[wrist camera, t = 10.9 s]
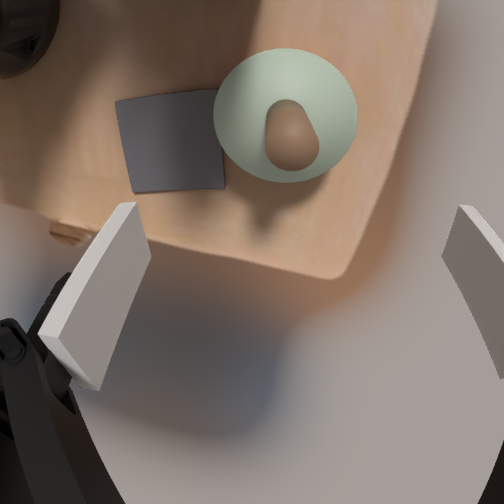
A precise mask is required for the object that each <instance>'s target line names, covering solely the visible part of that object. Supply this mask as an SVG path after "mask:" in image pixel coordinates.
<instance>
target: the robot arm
mask: <svg viewBox="0 0 504 504" xmlns="http://www.w3.org/2000/svg"><path fill="white" fill-rule="evenodd" d="M58 16H59V0H0V79H5V78H10V77H13V76H16V75H19V74H21V73H23V72H25V71H27V70H29V69H30V68H31V67H32V66H34V65H35V64H36V63H37V62H38V61H39V59H40V58H41V57H42V56H43V54H44V53H45V51H46V50H47V48H48V46H49V44H50V42H51V40H52V38H53V35H54V33H55V29H56V26H57V22H58ZM442 258H443V260H444V262H445V264H446V265H447V267H448V269H449V271H450V272H451V274H452V276H453V278H454V279H455V282H456V283H457V285H458V287H459V289H460V291H461V293H462V295H463V297H464V299H465V301H466V303H467V305H468V307H469V309H470V311H471V313H472V315H473V317H474V319H475V321H476V323H477V325H478V328H479V330H480V332H481V334H482V336H483V339H484V341H485V343H486V346H487V348H488V350H489V353H490V355H491V358H492V360H493V363H494V365H495V367H496V370H497V373H498V375H499V378H500V379H502V378H504V244H503V243H502V241H501V240H500V239H499V237H498V236H497V235H496V234H495V232H494V231H493V230H492V229H491V227H489V225H488V224H487V223H486V221H485V220H484V219H483V218H482V217H481V216H480V214H479V213H478V212H477V211H476V210H475V208H474V207H473V206H468V205H459V207H458V210H457V213H456V216H455V219H454V222H453V225H452V228H451V231H450V235H449V238H448V240H447V243H446V246H445V248H444V251H443V254H442ZM150 259H151V254H150V250H149V247H148V243H147V239H146V236H145V232H144V228H143V224H142V221H141V217H140V213H139V209H138V205H137V202H129V203H120V204H119V205H118V206H117V208H116V209H115V211H114V212H113V213H112V215H111V216H110V217H109V219H108V220H107V222H106V223H105V224H104V226H103V227H102V229H101V230H100V232H99V233H98V234H97V236H96V238H95V239H94V240H93V242H92V244H91V245H90V246H89V248H88V249H87V251H86V252H85V254H84V255H83V257H82V258H81V260H80V262H79V263H78V265H77V266H76V268H75V269H74V271H73V273H66V274H65V275H64V276H63V277H62V278H61V279H60V280H59V281H57V283H56V284H55V286H54V288H53V289H52V291H51V292H50V296H48V297H47V299H46V301H45V304H44V305H43V306H42V307H41V309H40V311H39V313H38V314H37V316H36V318H35V320H34V321H33V324H32V325H31V327H30V329H29V331H28V332H27V334H26V333H25V332H24V330H23V329H22V328H21V326H20V325H19V323H18V322H17V321H16V320H14V319H13V318H12V319H11V318H6V319H4V320H1V321H0V504H125V502H124V501H123V499H122V497H121V495H120V494H119V492H118V490H117V488H116V486H115V485H114V483H113V481H112V479H111V478H110V475H109V473H108V472H107V470H106V468H105V466H104V464H103V462H102V460H101V458H100V456H99V453H98V451H97V449H96V447H95V445H94V443H93V441H92V438H91V436H90V434H89V432H88V429H87V427H86V425H85V422H84V420H83V417H82V415H81V412H80V410H79V407H78V404H77V402H76V399H75V396H74V394H73V391H72V390H71V388H70V387H69V384H70V381H71V379H72V378H73V380H74V381H75V382H76V383H77V384H78V385H79V387H82V388H86V389H91V390H96V391H100V388H101V385H102V382H103V379H104V376H105V373H106V370H107V367H108V364H109V361H110V359H111V356H112V353H113V351H114V348H115V345H116V342H117V340H118V337H119V334H120V332H121V329H122V327H123V324H124V321H125V319H126V316H127V314H128V311H129V308H130V306H131V304H132V301H133V299H134V296H135V294H136V292H137V289H138V287H139V284H140V282H141V280H142V277H143V275H144V273H145V270H146V268H147V266H148V264H149V261H150ZM478 504H504V441H503V444H502V447H501V450H500V452H499V455H498V458H497V460H496V463H495V466H494V468H493V471H492V473H491V475H490V478H489V480H488V482H487V485H486V487H485V489H484V491H483V494H482V496H481V498H480V500H479V502H478Z"/></svg>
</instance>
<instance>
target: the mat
mask: <svg viewBox="0 0 504 504" xmlns="http://www.w3.org/2000/svg"><path fill="white" fill-rule="evenodd" d="M217 93H218V88H217V89H204V90H193V91H183V92H174V93H166V94H159V95H152V96H145V97H139V98H133V99H127V100H121V101H117V102H115V106H116V112H117V118H118V124H119V129H120V135H121V140H122V145H123V150H124V155H125V160H126V165H127V169H128V174H129V178H130V183H131V187H132V191H133V192H147V191H165V190H186V189H216V188H225V176H224V164H223V151H222V146H221V144H220V142H219V140H218V138H217V134H216V131H215V127H214V118H213V111H214V103H215V99H216V96H217Z"/></svg>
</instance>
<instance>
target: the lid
mask: <svg viewBox="0 0 504 504" xmlns="http://www.w3.org/2000/svg"><path fill="white" fill-rule="evenodd" d="M213 118H214V127H215V131H216V134H217V138H218V140H219V142H220V144H221V146H222V148H223V149H224V151H225V153H226V154H227V155H228V156H229V157H230V159H231V160H232V161H233V162H234V163H235V164H236V165H238V166H239V167H240V168H242V169H243V170H244V171H246V172H248V173H249V174H251V175H253V176H256V177H258V178H260V179H264V180H267V181H272V182H278V183H295V182H301V181H306V180H309V179H312V178H315V177H317V176H320V175H321V174H323V173H325V172H327V171H328V170H330V169H331V168H332V167H334V166H335V165H336V164H337V163H338V162H339V161H340V160H341V159H342V158H343V156H344V155H345V154H346V152H347V151H348V149H349V148H350V146H351V144H352V141H353V139H354V136H355V133H356V129H357V122H358V112H357V105H356V101H355V97H354V94H353V92H352V90H351V87H350V86H349V84H348V82H347V81H346V79H345V78H344V77H343V75H342V74H341V73H340V72H339V71H338V70H337V69H336V68H335V67H334V66H333V65H332V64H330V63H329V62H327V61H326V60H324V59H323V58H321V57H319V56H317V55H315V54H312V53H309V52H306V51H302V50H297V49H290V48H278V49H271V50H265V51H262V52H259V53H256V54H254V55H252V56H250V57H248V58H247V59H245V60H244V61H242V62H241V63H239V64H238V65H237V66H236V67H235V68H234V69H233V70H232V71H231V72H230V73H229V74H228V75H227V76H226V78H225V79H224V81H223V83H222V84H221V86H220V88H219V90H218V93H217V96H216V99H215V103H214V111H213Z"/></svg>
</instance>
